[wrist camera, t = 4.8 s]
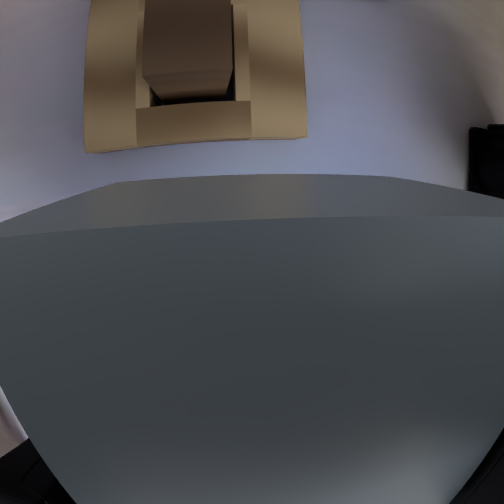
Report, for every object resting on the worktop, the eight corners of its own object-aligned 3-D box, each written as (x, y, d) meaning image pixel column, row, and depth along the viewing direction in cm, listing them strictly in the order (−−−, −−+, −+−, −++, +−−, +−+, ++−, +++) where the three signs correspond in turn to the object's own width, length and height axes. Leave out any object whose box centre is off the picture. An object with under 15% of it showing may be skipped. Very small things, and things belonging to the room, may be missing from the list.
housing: (349, 441, 11) (403, 550, 5) (171, 462, 10) (169, 590, 5) (391, 176, 8) (574, 220, 3) (117, 182, 7) (-47, 243, 2)
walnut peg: (223, 100, 18) (232, 69, 11) (165, 104, 17) (142, 76, 10) (222, 27, 16) (230, -29, 9) (165, 31, 16) (147, -23, 9)
